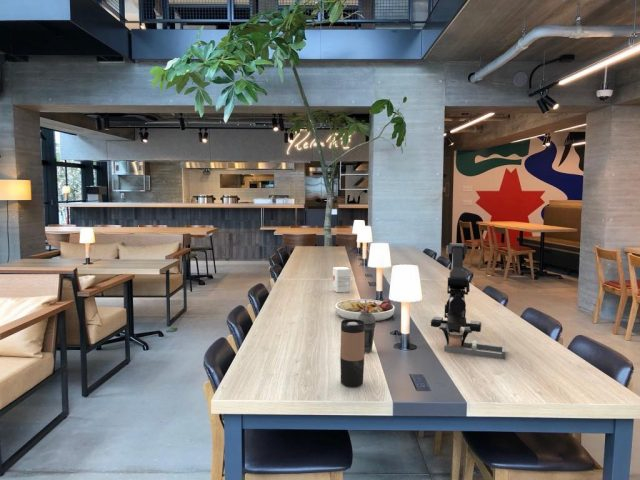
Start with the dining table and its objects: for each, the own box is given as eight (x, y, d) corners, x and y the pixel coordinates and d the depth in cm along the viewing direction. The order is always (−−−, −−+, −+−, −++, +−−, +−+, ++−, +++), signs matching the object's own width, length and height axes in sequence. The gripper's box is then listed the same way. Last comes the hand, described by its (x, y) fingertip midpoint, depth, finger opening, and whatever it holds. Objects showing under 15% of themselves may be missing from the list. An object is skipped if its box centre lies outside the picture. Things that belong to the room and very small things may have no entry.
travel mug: (362, 378, 149) (363, 318, 147) (365, 387, 141) (366, 325, 139) (339, 378, 149) (339, 318, 147) (340, 388, 141) (341, 325, 139)
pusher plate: (472, 347, 179) (473, 340, 179) (476, 348, 178) (477, 341, 178) (471, 352, 173) (471, 345, 173) (475, 353, 173) (475, 345, 172)
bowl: (346, 325, 211) (346, 309, 211) (328, 309, 240) (328, 295, 239) (404, 321, 219) (404, 305, 218) (380, 306, 248) (380, 292, 247)
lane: (447, 344, 184) (447, 336, 184) (505, 351, 176) (505, 344, 175) (444, 351, 176) (444, 343, 175) (505, 359, 167) (505, 351, 167)
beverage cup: (360, 354, 171) (361, 303, 169) (353, 348, 178) (354, 298, 176) (378, 353, 173) (379, 302, 171) (371, 347, 180) (372, 297, 178)
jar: (448, 344, 182) (449, 331, 182) (462, 346, 180) (463, 333, 179) (447, 348, 177) (447, 335, 177) (461, 350, 175) (461, 336, 174)
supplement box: (332, 290, 290) (332, 267, 288) (345, 289, 292) (345, 266, 291) (337, 293, 281) (337, 269, 280) (350, 292, 284) (350, 268, 282)
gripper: (428, 308, 173) (427, 348, 175) (480, 314, 166) (478, 355, 167) (433, 302, 183) (432, 339, 185) (482, 307, 176) (480, 346, 178)
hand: (455, 345), depth 178 cm, fingers closed on jar, 5 cm apart
